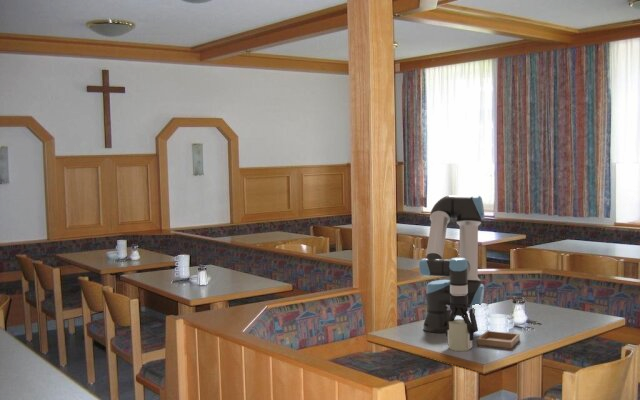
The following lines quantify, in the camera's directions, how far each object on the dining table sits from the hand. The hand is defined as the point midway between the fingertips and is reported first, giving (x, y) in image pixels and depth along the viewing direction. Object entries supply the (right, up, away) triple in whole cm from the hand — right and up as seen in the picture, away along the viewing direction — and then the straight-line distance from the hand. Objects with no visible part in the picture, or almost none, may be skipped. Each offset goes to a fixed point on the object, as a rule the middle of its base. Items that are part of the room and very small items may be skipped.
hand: (460, 345), depth 301 cm
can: (0, -1, 0) cm, 1 cm away
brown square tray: (+18, 0, +6) cm, 19 cm away
